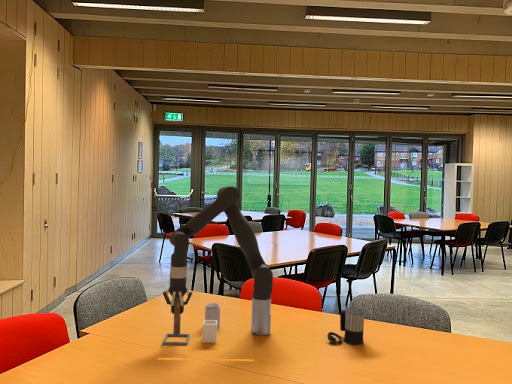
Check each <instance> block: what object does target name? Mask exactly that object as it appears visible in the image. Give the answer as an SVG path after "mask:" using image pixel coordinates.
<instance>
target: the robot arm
mask: <svg viewBox="0 0 512 384" xmlns="http://www.w3.org/2000/svg"><path fill="white" fill-rule="evenodd" d="M216 197H217V198H216V199H215V200H214V201H213V202H212V203H211V204H209V205H208V206H207V207H205V208H204V209H202V210H200V211H199V212H198V213H196V214H195V215H194V216H193V217H191V219H189V220H188V221H187V223H185V224H183V225H181V226H180V227H178V228H177V229H175V230H174V231H173V232H171V234H170V236H169V242H170V244H171V245H172V246H173V247H174V248H173V253H171V256H170V268H169V288H168V290H163V292H162V295H163V297H164V300H165V302H166V305H170V313H172V315H174V300H175V298H179V299H180V303H181V306H180V314H181V315H183V313H184V310H185V306H186V305H188V304H189V301H190V299H191V297H192V295H193V293H194V292H193V291H190V290H188V288H187V278H188V277H187V275H188V271H187V259H188V257H187V256H188V252H189V248H190V247H189V246H190V238H191V237H192V236H196V235H198V234H199V233H200V232H202V231H203V229H204V228H206V227H207V226H208V225H209V224H210V223H211V222H212V221H214V220H215V219H216V218H217V217H218V216H219V215H220V214H221V213H223V212H224V214H225V216H226V218H227V220H228V223H229V225H230V227H231V230H232V233H233V235H234V237H235V240H236V243H237V244H238V246H239V248H240V250H241V252H242V253H243V255H244V257H245V258H246V261H247V263H248V267H249V270H250V273H251V276H252V279H253V291H252V292H251V293H252V295H251V322H250V324H251V326H250V327H251V328H250V331H251V333H252V334H253V335H255V336H267V335H271V325H272V324H271V321H272V315H271V311H272V310H271V308H272V305H271V304H272V293H273V286H274V284H273V283H274V282H273V281H274V275H273V271H272V270H271V269H270V267H269V266H268V265H267V264H266V262H265V260H264V258H263V256H262V254H261V252H260V248H259V244H258V239H257V236H256V233H255V231H254V229H253V227H252V225H251V224H250V222H249V220H247V218H246V217H245V216H244V215H243V214H242V212H241V209H240V208H239V205H238V201H239V200H240V197H241V193H240V190H239V189H238V188H237V187H236V186H234V185H227V186H223V187H221V188H219V190H218V191H217V195H216ZM169 295H170V296H171V300H170V297H169ZM185 295H186V296H187V297H186V300H184V296H185Z"/></svg>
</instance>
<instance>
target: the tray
mask: <svg viewBox="0 0 512 384" xmlns="http://www.w3.org/2000/svg"><path fill="white" fill-rule="evenodd" d="M168 337H178V338H179V337H180V338H181V337H182V338H186V340H185V341H167V339H168ZM190 338H191V333H180V334H178V335H175V334H173V333H166V334H165V336H164V338H163V340H162V347H164V345H165V346H188V345H189V340H190Z"/></svg>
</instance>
